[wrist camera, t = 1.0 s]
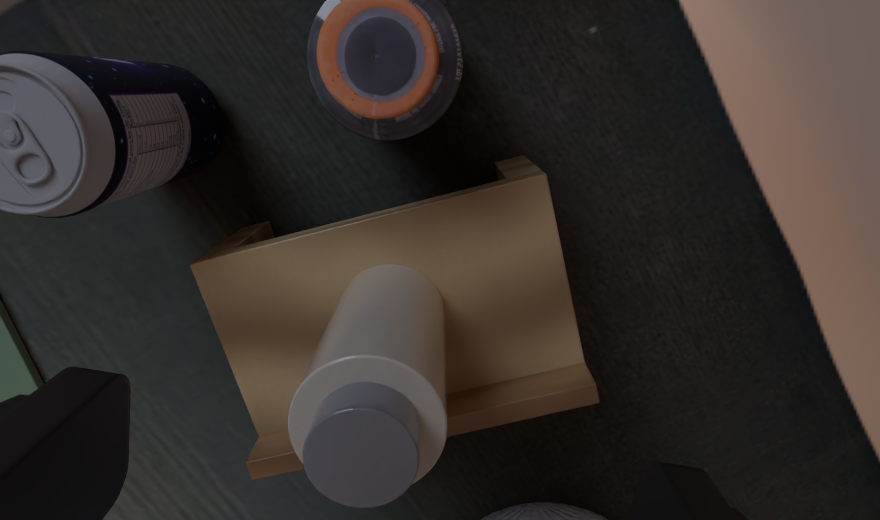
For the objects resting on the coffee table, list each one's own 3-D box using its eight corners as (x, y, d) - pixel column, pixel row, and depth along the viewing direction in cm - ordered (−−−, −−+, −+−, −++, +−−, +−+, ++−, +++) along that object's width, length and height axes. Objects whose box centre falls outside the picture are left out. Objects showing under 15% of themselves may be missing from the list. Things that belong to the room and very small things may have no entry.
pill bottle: (324, 28, 29) (254, -10, 18) (436, -13, 28) (434, -78, 17) (366, 142, 30) (325, 171, 19) (472, 105, 30) (491, 114, 19)
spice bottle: (324, 278, 25) (247, 404, 15) (429, 251, 25) (422, 363, 15) (356, 372, 26) (304, 547, 16) (456, 349, 26) (466, 512, 16)
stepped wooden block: (242, 227, 32) (167, 279, 23) (523, 154, 30) (555, 180, 22) (299, 383, 34) (252, 481, 26) (558, 321, 33) (600, 403, 25)
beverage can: (192, 45, 29) (28, 15, 17) (249, 147, 30) (132, 183, 19) (99, 94, 29) (-118, 97, 18) (159, 192, 31) (-6, 253, 19)
